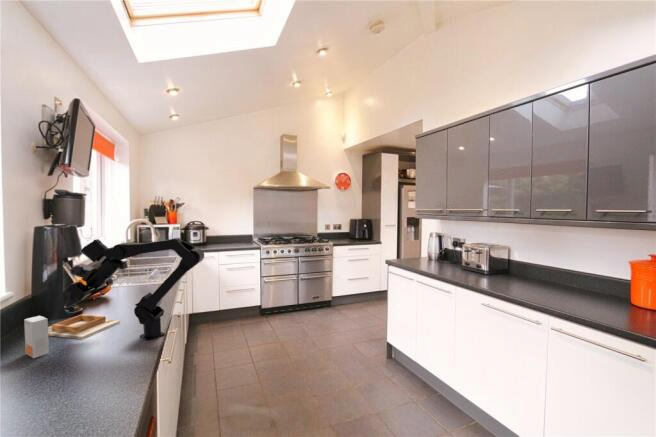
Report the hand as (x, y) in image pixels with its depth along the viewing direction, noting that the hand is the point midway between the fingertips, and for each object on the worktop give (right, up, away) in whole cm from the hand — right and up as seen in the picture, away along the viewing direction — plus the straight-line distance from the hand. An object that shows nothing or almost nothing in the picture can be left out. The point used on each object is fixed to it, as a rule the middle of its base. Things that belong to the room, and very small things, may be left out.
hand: (75, 302), depth 114 cm
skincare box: (-4, -15, -10) cm, 18 cm away
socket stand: (-7, -13, +11) cm, 19 cm away
